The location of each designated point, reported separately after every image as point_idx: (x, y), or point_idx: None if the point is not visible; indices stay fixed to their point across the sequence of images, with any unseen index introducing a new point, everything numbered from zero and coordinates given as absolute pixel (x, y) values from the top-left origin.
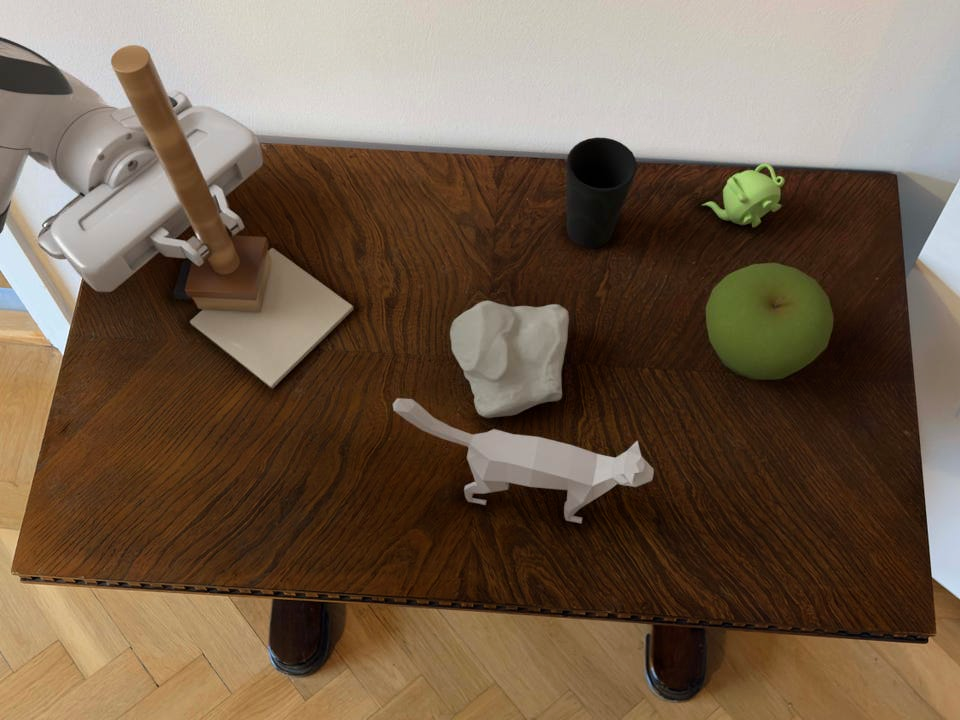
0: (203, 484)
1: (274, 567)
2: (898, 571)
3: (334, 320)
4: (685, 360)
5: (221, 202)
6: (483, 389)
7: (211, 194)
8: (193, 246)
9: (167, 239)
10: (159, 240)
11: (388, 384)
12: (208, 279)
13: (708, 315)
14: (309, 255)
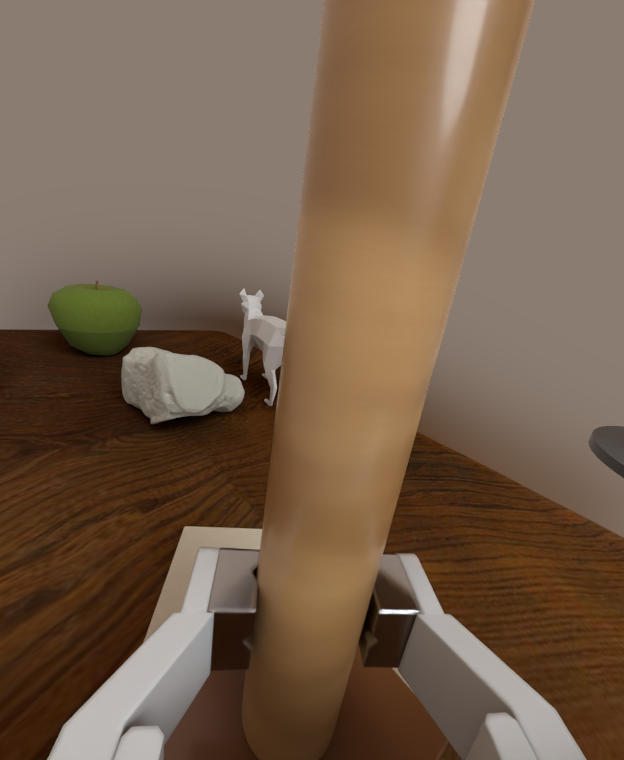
0: (491, 524)
1: (443, 451)
2: (204, 332)
3: (223, 530)
4: (121, 365)
5: (166, 648)
6: (229, 383)
7: (133, 750)
8: (400, 576)
9: (498, 687)
10: (544, 716)
11: (258, 461)
12: (367, 698)
13: (108, 314)
14: (73, 699)
